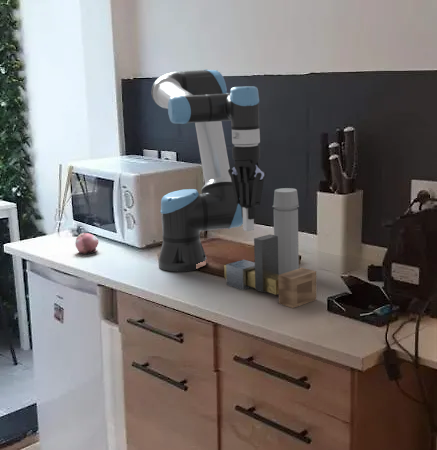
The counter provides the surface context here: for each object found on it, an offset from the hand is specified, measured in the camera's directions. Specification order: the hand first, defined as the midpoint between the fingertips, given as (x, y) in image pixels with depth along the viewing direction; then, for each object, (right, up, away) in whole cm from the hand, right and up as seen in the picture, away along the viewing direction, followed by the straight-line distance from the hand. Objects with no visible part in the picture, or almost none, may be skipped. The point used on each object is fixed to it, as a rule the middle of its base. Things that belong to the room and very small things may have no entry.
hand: (248, 230), depth 198 cm
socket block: (+12, -19, -10) cm, 25 cm away
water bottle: (+12, -13, +16) cm, 24 cm away
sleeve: (-1, -16, +6) cm, 17 cm away
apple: (-53, -8, +46) cm, 70 cm away
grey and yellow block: (+2, -15, +2) cm, 16 cm away
